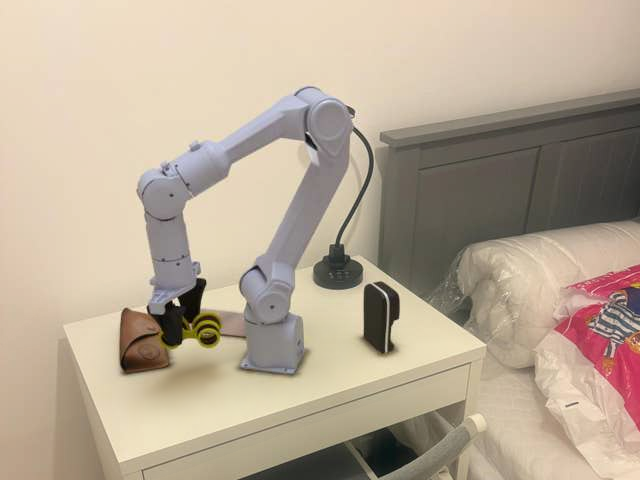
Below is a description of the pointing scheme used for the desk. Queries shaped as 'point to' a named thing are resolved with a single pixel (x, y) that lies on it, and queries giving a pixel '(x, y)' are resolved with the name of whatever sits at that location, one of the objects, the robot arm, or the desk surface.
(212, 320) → the opera glasses
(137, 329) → the sunglasses case
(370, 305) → the battery charger
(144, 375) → the desk surface
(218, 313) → the copper plate
